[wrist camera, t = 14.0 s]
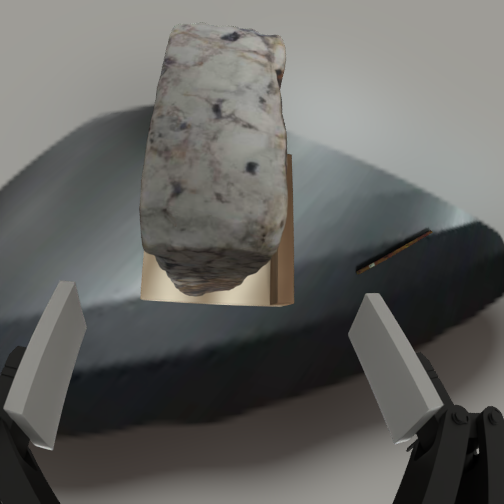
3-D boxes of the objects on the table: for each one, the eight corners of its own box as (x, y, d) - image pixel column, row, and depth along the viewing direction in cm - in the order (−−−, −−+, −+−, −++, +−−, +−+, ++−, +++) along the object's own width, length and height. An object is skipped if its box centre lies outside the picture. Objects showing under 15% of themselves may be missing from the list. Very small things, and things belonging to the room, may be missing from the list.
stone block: (170, 172, 32) (158, 15, 13) (236, 171, 34) (283, 20, 14) (173, 300, 29) (135, 256, 10) (246, 296, 31) (332, 247, 12)
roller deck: (147, 301, 33) (134, 295, 26) (160, 175, 37) (154, 142, 29) (273, 308, 36) (293, 303, 28) (274, 184, 39) (291, 154, 32)
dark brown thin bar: (428, 230, 42) (432, 229, 41) (429, 233, 42) (433, 231, 41) (354, 271, 39) (358, 270, 38) (356, 275, 38) (360, 274, 38)
